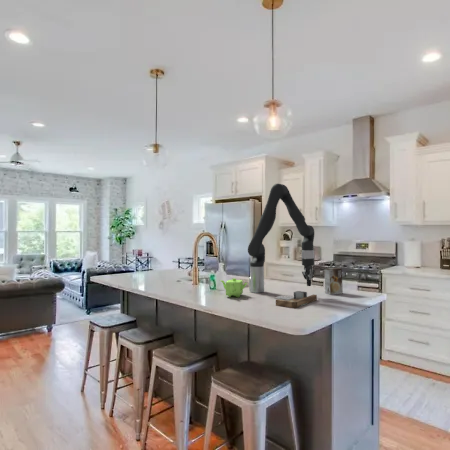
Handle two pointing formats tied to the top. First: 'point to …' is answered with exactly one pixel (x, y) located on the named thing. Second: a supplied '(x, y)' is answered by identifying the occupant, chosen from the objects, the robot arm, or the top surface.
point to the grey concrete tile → (284, 297)
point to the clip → (300, 295)
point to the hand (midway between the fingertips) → (309, 285)
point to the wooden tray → (296, 301)
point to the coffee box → (333, 281)
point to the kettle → (234, 287)
